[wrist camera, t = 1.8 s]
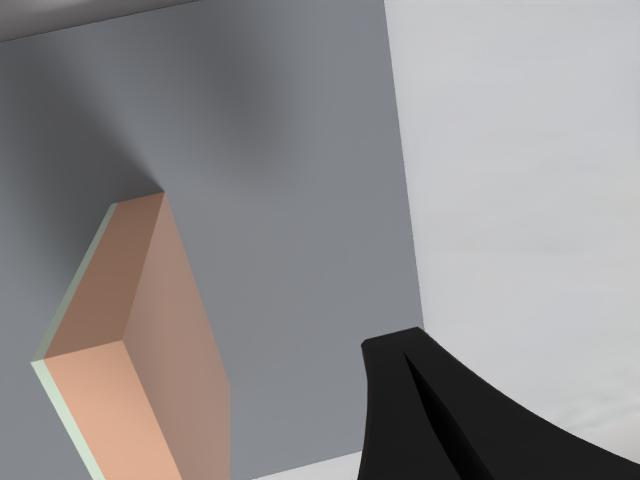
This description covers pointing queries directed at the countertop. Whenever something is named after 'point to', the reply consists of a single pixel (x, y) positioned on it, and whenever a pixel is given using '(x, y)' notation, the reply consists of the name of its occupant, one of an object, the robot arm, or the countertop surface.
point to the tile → (138, 355)
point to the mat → (215, 207)
